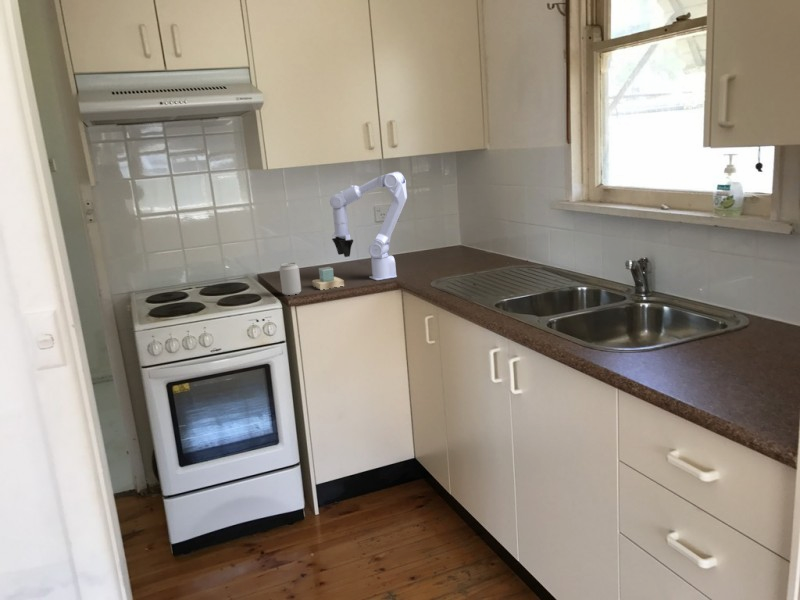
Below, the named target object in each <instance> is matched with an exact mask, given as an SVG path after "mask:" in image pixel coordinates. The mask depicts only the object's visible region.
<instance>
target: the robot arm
mask: <svg viewBox="0 0 800 600" xmlns="http://www.w3.org/2000/svg"><path fill="white" fill-rule="evenodd" d="M378 187H381V188H386V189H387V191H388V192H390V195H391V196H392V198H393V199H392V201H391V204H390V206H389V209H388V211H387V213H386V216H385V217H384V220H383V222H382V224H381V228H380V229H379V232H378V234H377V235H376V237H375V239H374V240H373V242H371V244H369V247H368V253H369V255H370V259H371V271H372V272H371V273H372V275H371V276H369V279H372V280H375V281H380V280H388V279H393V278H397V277H398V275H397V268H396V260H395V257H394V256H393V255H389V253H388V252H389V250H390V242H391V237H392V234H393V232H394V230H395V227H396V225H397V223H398V220H399V217H400V215H401V214H402V211H403V208H404V206H405V204H406V201H407V199H408V194H407V193H408V192H407V191H408V190H407V181H406V178H405V177H404V175H403V173H402V172H401V171H393V172H389V173H387V174H384V175H380V176H377V177H375V178H373V179H371V180H369V181H367V182H366V183H363V184H362V185H360V186H358V185H356V184H355V185H353V184H352V185H349V187H348V188H346V189H344V190H341V191H339V193H335V194H333V195H332V196H331V197H330V200H329V202H330V206H331V207H332V214H333V215H332V216H333V226H334V233H333V234H332V237H334V238H331V240H332V242H333V243H334V246H335V248H336V252H337V254H338V255H339V256H340V255H343V256H344V258H347V257H350V256H351V249H352V245H353V243H354V239H351V235H350V232H349V221H348V212H347V211H348V209H347V205H350V204H352V203H355V202H356V201H358V200H360V199H362V198H363V194H365V193H368V192H369V191H372V190H374V189H377V188H378Z"/></svg>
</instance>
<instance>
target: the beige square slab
mask: <svg viewBox="0 0 800 600" xmlns="http://www.w3.org/2000/svg"><path fill="white" fill-rule="evenodd" d="M311 281H312V287H314V288H315V287H316V289H318V290H319V289H320V290H319V291H324V290H323V289H325V290H330V289H329V288H331V289H335V288H334V287H337V288H341V287H340V286H343V287H345V280H344V279H342V278H340V277H337V276H334V280H333V281H327V282H323V281H320V278H318V279H317V278H316V279H313V280H311Z"/></svg>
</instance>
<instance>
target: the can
mask: <svg viewBox="0 0 800 600" xmlns="http://www.w3.org/2000/svg"><path fill="white" fill-rule="evenodd" d="M297 264H298V263H297V262H286V263H285V262H284V263H281V264H280V267H279V268H278V269H279V277H280V285H281V293H282V294H283V295H284V296H288V295H290V296H296V295H295V294H297V295H299V294H300V293H301V292H302V285H301V276H300V267H299V265H297Z"/></svg>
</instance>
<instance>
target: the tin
mask: <svg viewBox="0 0 800 600" xmlns="http://www.w3.org/2000/svg"><path fill="white" fill-rule="evenodd" d="M318 273H319V279H320V281H323V282H327V281H333V280H334V277H335V276H334V275H335V274H334V267H331V266H326V267H318Z"/></svg>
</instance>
